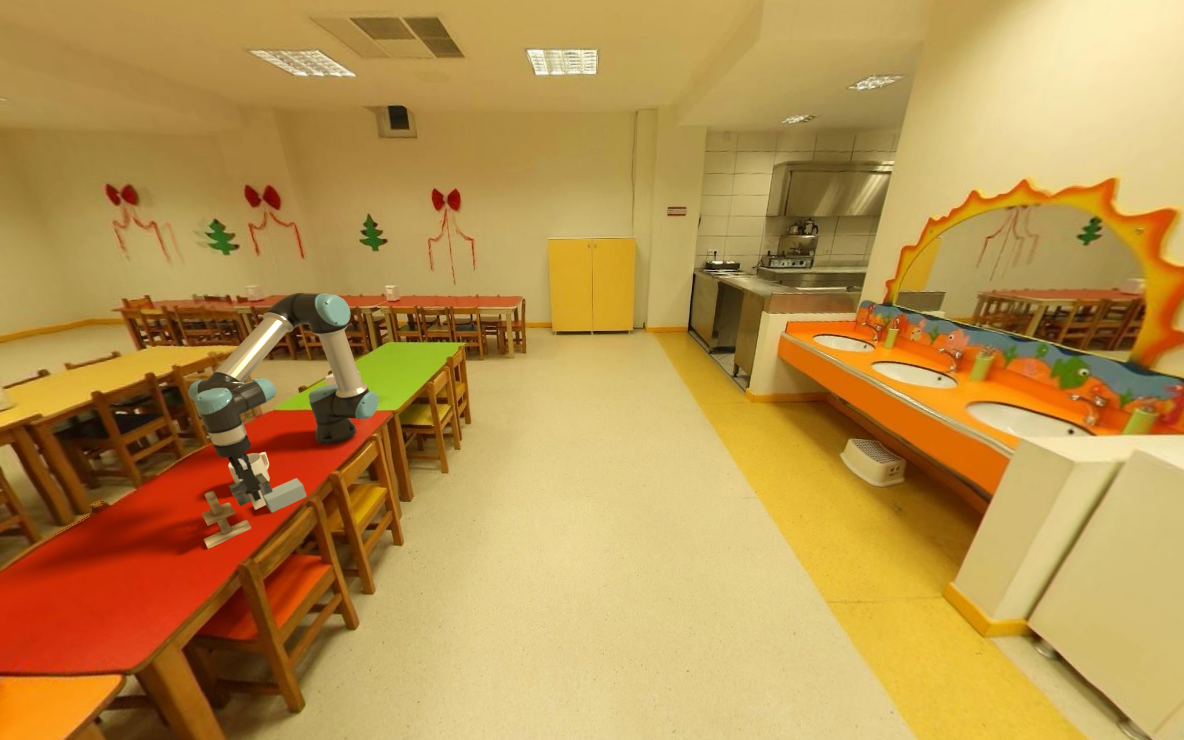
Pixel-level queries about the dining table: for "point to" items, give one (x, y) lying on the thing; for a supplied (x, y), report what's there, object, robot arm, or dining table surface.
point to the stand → (221, 521)
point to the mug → (254, 466)
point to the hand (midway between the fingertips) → (256, 500)
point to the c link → (240, 490)
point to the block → (284, 495)
